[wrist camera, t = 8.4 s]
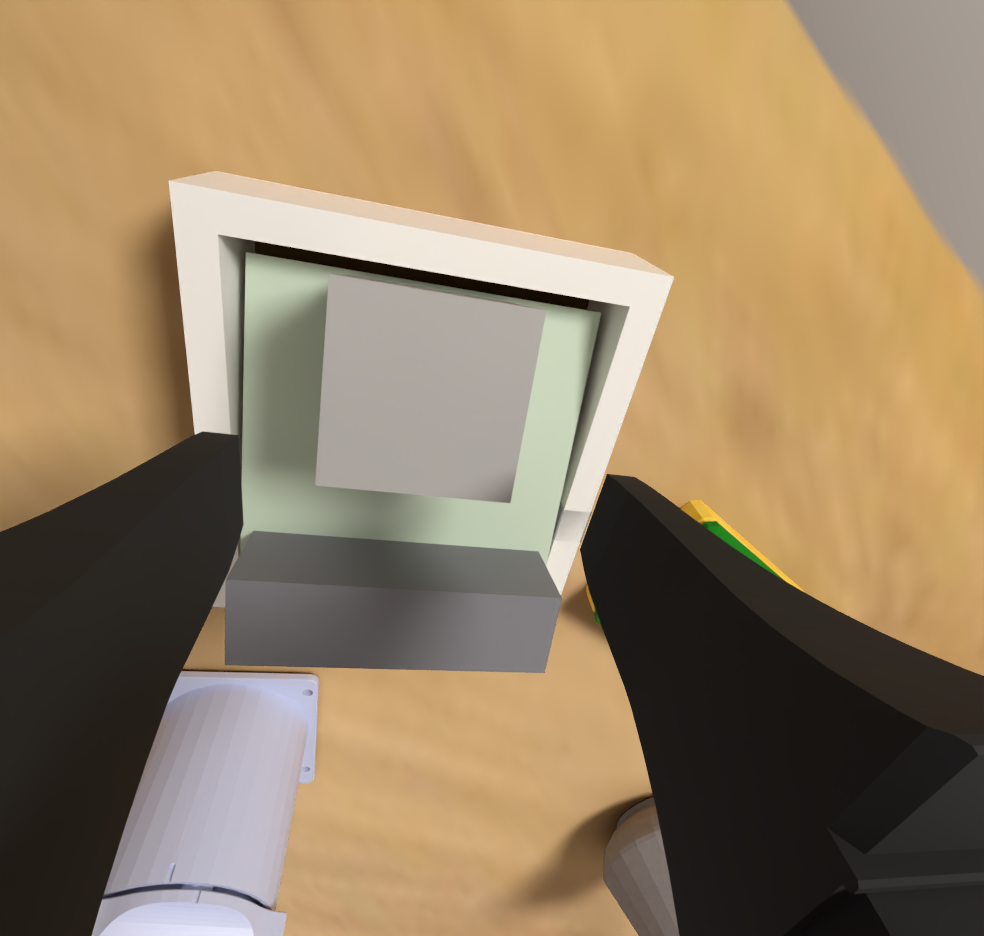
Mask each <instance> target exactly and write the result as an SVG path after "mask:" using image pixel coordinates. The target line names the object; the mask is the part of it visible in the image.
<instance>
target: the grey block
mask: <svg viewBox="0 0 984 936" xmlns="http://www.w3.org/2000/svg"><path fill="white" fill-rule="evenodd" d="M545 316H546V310H542V309H537V308H533V307H529V306H524V305H520V304H516V303H511V302H507V301H502V300H496V299H490V298H484V297H478V296H472V295H466V294H460V293H455V292H449V291H443V290H437V289H431V288H425V287H419V286H413V285H407V284H402V283H396V282H390V281H384V280H378V279H372V278H366V277H360V276H354V275H341V274H329V280H328V296H327V311H326V327H325V342H324V358H323V373H322V389H321V404H320V420H319V436H318V451H317V467H316V482H315V486H326V487H337V488H348V489H359V490H370V491H381V492H392V493H403V494H414V495H425V496H436V497H447V498H457V499H468V500H479V501H490V502H501V503H510V502H511V497H512V492H513V486H514V481H515V476H516V470H517V465H518V460H519V454H520V449H521V444H522V438H523V433H524V428H525V422H526V417H527V412H528V406H529V401H530V396H531V390H532V385H533V380H534V374H535V369H536V364H537V358H538V353H539V348H540V342H541V337H542V332H543V326H544V321H545Z"/></svg>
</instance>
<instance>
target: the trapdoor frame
mask: <svg viewBox="0 0 984 936" xmlns="http://www.w3.org/2000/svg"><path fill="white" fill-rule="evenodd" d="M169 189H170V198H171V208H172V218H173V228H174V237H175V247H176V257H177V267H178V276H179V286H180V296H181V305H182V315H183V325H184V335H185V344H186V354H187V364H188V374H189V383H190V393H191V403H192V413H193V422H194V432H195V435H196V434H198V433H200V432H202V431H204V432H213V433H223V434H232V435H239V449H240V468H241V486H242V432H243V377H244V322H245V267H246V252H249V253H255V241H259V242H264V243H270V244H276V245H281V246H287V247H293V248H299V249H304V250H310V251H316V252H321V253H327V254H333V255H338V256H344V257H350V258H355V259H361V260H367V261H373V262H378V263H384V264H390V265H395V266H401V267H407V268H412V269H418V270H424V271H430V272H435V273H441V274H447V275H452V276H458V277H464V278H469V279H475V280H481V281H487V282H492V283H498V284H504V285H509V286H515V287H521V288H526V289H532V290H538V291H544V292H549V293H555V294H561V295H566V296H572V297H578V298H583V299H589V304H588V307H587V310H588V311H594V312H600V313H601V316H600V321H599V326H598V330H597V335H596V339H595V344H594V349H593V353H592V358H591V362H590V367H589V372H588V376H587V381H586V385H585V390H584V394H583V399H582V404H581V408H580V413H579V417H578V422H577V427H576V431H575V436H574V440H573V445H572V450H571V454H570V459H569V463H568V468H567V473H566V477H565V482H564V486H563V491H562V496H561V500H560V505H559V509H558V514H557V519H556V523H555V528H554V532H553V537H552V541H551V546H550V551H549V555H548V560H547V564H546V567H547V569H548V571H549V573H550V575H551V577H552V579H553V581H554V583H555V585H556V587H557V589H558V591H559V593H560V595H561V593H562V590H563V587H564V585H565V582H566V579H567V576H568V573H569V571H570V568H571V565H572V562H573V559H574V557H575V554H576V551H577V548H578V545H579V543H580V542H581V541H582V538H583V535H584V532H585V529H586V527H587V524H588V521H589V518H590V516H591V513H592V512H591V509H592V506H593V503H594V501H595V498H596V495H597V492H598V489H599V487H600V484H601V481H602V478H603V475H604V473H605V470H606V467H607V464H608V461H609V459H610V456H611V453H612V450H613V447H614V445H615V442H616V439H617V436H618V433H619V430H620V428H621V425H622V422H623V419H624V416H625V414H626V411H627V408H628V405H629V402H630V400H631V397H632V394H633V391H634V388H635V386H636V383H637V380H638V377H639V374H640V372H641V369H642V366H643V363H644V360H645V358H646V355H647V352H648V349H649V346H650V344H651V341H652V338H653V335H654V332H655V330H656V327H657V324H658V321H659V318H660V316H661V313H662V310H663V307H664V304H665V302H666V299H667V296H668V293H669V290H670V288H671V285H672V282H673V279H674V277H673V276H671V275H670V274H668V273H666V272H664V271H663V270H661V269H659V268H657V267H656V266H654V265H652V264H650V263H649V262H647V261H645V260H643V259H642V258H640V257H638V256H636V255H635V254H633V253H629V252H624V251H619V250H614V249H609V248H604V247H599V246H594V245H589V244H584V243H579V242H574V241H569V240H564V239H559V238H554V237H549V236H543V235H538V234H533V233H528V232H523V231H518V230H513V229H508V228H503V227H498V226H493V225H488V224H483V223H478V222H473V221H468V220H462V219H457V218H452V217H447V216H442V215H437V214H432V213H427V212H422V211H417V210H412V209H407V208H402V207H397V206H392V205H387V204H382V203H376V202H371V201H366V200H361V199H356V198H351V197H346V196H341V195H336V194H331V193H326V192H321V191H316V190H311V189H306V188H301V187H295V186H290V185H285V184H280V183H275V182H270V181H265V180H260V179H255V178H250V177H245V176H240V175H235V174H230V173H225V172H220V171H213V172H208V173H203V174H198V175H193V176H189V177H184V178H179V179H174V180H169ZM240 542H241V535H240V538H239V541H238V545H237V548H236V551H235V554H234V557H233V560H232V564H231V567H230V570H229V572H228V574H229V573H230V571H231V569H232V568H233V566H234V564H235V562H236V561H237V559H238V557H239V556H240ZM228 574H227V576H228ZM227 576H226V578H227ZM225 584H226V579H225V581H224V583H223V585H222V587H221V589H220V591H219V593H218V596H217V598H216V600H215V602H214V604H213V606H212V607H224V608H225Z"/></svg>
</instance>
